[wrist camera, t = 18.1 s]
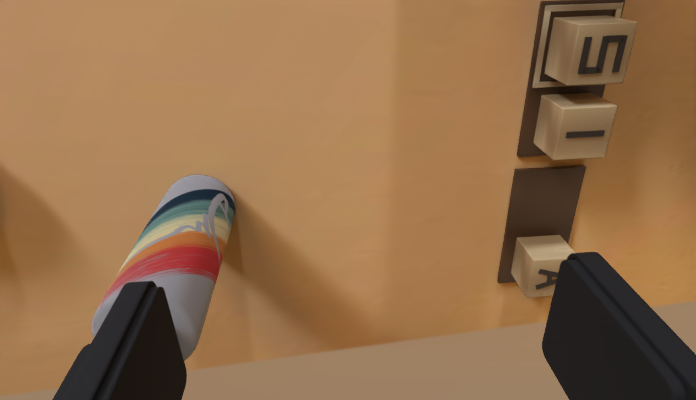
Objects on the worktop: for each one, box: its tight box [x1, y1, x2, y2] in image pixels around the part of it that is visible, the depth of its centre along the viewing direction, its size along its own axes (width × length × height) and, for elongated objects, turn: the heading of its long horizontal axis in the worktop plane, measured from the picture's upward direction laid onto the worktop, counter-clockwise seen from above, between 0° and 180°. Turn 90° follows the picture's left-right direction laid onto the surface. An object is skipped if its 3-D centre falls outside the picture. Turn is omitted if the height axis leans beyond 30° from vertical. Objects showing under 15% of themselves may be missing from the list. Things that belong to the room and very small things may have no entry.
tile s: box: [544, 15, 638, 86], centre depth 33 cm, size 4×4×4 cm
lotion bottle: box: [92, 175, 235, 361], centre depth 30 cm, size 6×6×20 cm
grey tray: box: [517, 0, 625, 160], centre depth 34 cm, size 12×6×4 cm, turn 2°
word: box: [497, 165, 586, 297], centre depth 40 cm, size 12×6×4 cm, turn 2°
